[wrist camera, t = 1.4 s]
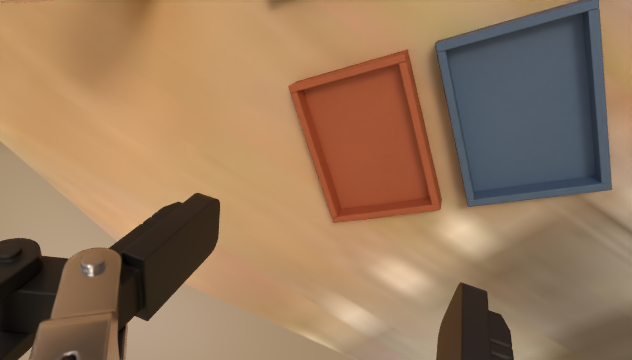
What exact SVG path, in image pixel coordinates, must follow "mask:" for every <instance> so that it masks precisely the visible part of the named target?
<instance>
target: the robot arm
mask: <svg viewBox="0 0 632 360" xmlns="http://www.w3.org/2000/svg"><path fill="white" fill-rule="evenodd" d="M219 215H220V202H219V200H218V199H215V198H212V197H209V196H206V195H203V194H200V193H195V194H194V195H193V196H191V197H190V198H189V199H188V200H186V201H185V202H184V203H181V202H176V203H174V204H171V205H168V206H165V207H163V208H162V209H160V210H159V211H158V212H156V213H155V214H154V215H152V217H150V218H148V219H147V220H146V221H144V222H143V224H140V225H139V226H138V227H136V228H135V229H134V230H132V231H131V232H130V233H128V234H127V235H126V236H124V237H123V238H122V239H120V240H119V241H118V242H116V243H115V244H114V245H112V246H111V247H110V248H108V249H107V248H91V249H87V250H83V251H81V252H78V253H77V254H75V255H73V256H72V257H70V258H69V259H67V258H57V257H47V256H42V255H41V250H40V247H39V245H38V243H37V242H35V241H33V240H30V239H25V238H15V239H8V240H3V241H1V242H0V360H18V359H19V358H20V357H21V356H22V355H24V354H25V353H26V352H27V351H28V350H29V349H30V348H31V347H32V346H33V347H32V350H31V353H30V357H29V360H125V358H126V346H127V331H128V326H127V323H128V322H129V321H130V320H131V319H132V318H133V317H134V316H136V317H139V318H141V319H143V320H146V321H149V319H150V318H151V317H152V316H153V315H154V314H155V313H156V312H157V311H158V310H159V309H160V308H161V307H162V306H163V304H164V303H165V302H166V301H167V300H168V299H169V298H170V297H171V296H172V295H173V294H174V293H175V292H176V290H177V289H178V288H179V287H180V286H181V285H182V284H183V283H184V282H185V281H186V280H187V279H188V278H189V277H190V276H191V274H192V273H193V272H194V271H195V270H196V269H197V268H198V267H199V266H200V265H201V264H202V263H203V262H204V261H205V259H206V258H207V257H208V256H209V255H210V254H211V253H212V251H213V250H214V248H215V246H216V243H217V240H218V233H219ZM436 360H514V357H513V350H512V341H511V334H510V330H509V328H508V326H507V324H506V323H505V321H504V319H503V317H502V316H501V314H498V313H495V312H492V311H489V310H488V297H487V292H486V291H485V290H482V289H479V288H476V287H473V286H470V285H467V284H464V283H459V285H458V287H457V289H456V291H455V293H454V295H453V298H452V300H451V302H450V304H449V306H448V309H447V311H446V313H445V315H444V318H443V320H442V323H441V326H440V330H439V335H438V345H437V358H436Z"/></svg>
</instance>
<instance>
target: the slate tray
mask: <svg viewBox="0 0 632 360" xmlns="http://www.w3.org/2000/svg"><path fill="white" fill-rule="evenodd" d="M435 46H436V51H437V56H438V61H439V66H440V70H441V75H442V80H443V85H444V90H445V95H446V100H447V105H448V110H449V115H450V120H451V125H452V129H453V134H454V139H455V144H456V149H457V154H458V159H459V164H460V169H461V174H462V179H463V184H464V188H465V193H466V198H467V203H468V207H471V206H479V205H488V204H496V203H504V202H513V201H521V200H530V199H538V198H546V197H555V196H563V195H572V194H580V193H589V192H597V191H605V190H612V183H611V169H610V155H609V140H608V126H607V112H606V97H605V83H604V68H603V54H602V40H601V25H600V11H599V0H579V1H576V2H572V3H569V4H565V5H562V6H558V7H555V8H551V9H548V10H544V11H541V12H537V13H534V14H530V15H527V16H523V17H520V18H516V19H513V20H509V21H506V22H502V23H499V24H495V25H492V26H488V27H485V28H481V29H478V30H474V31H471V32H468V33H464V34H461V35H457V36H454V37H450V38H447V39H443V40H440V41H437V43H436V45H435Z"/></svg>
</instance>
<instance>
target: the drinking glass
mask: <svg viewBox="0 0 632 360" xmlns="http://www.w3.org/2000/svg"><path fill="white" fill-rule="evenodd" d="M43 1H51V0H0V3H31V2H43Z"/></svg>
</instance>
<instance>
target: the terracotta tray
mask: <svg viewBox="0 0 632 360" xmlns="http://www.w3.org/2000/svg"><path fill="white" fill-rule="evenodd" d="M289 90H290V93H291V96H292V99H293V102H294V105H295V108H296V111H297V114H298V117H299V120H300V123H301V126H302V129H303V132H304V135H305V138H306V141H307V144H308V147H309V150H310V153H311V156H312V159H313V162H314V165H315V168H316V171H317V174H318V177H319V180H320V183H321V186H322V189H323V192H324V195H325V198H326V201H327V204H328V207H329V210H330V213H331V216H332V219H333V222H334V223H336V222H344V221H352V220H361V219H369V218H378V217H386V216H394V215H403V214H411V213H420V212H428V211H436V210H440V209H441V201H442V199H441V195H440V190H439V186H438V181H437V177H436V173H435V168H434V164H433V159H432V155H431V151H430V146H429V142H428V137H427V133H426V129H425V124H424V120H423V115H422V111H421V106H420V102H419V98H418V93H417V89H416V84H415V80H414V76H413V71H412V67H411V62H410V58H409V53H408V50H405V51H401V52H398V53H394V54H391V55H387V56H384V57H380V58H377V59H373V60H370V61H366V62H363V63H359V64H356V65H352V66H349V67H346V68H342V69H339V70H335V71H332V72H328V73H325V74H321V75H318V76H314V77H311V78H307V79H304V80H300V81H297V82H295V83H293V84H292V85H290V86H289Z"/></svg>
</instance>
